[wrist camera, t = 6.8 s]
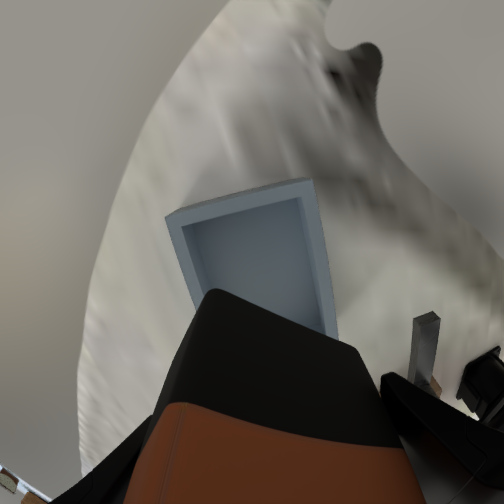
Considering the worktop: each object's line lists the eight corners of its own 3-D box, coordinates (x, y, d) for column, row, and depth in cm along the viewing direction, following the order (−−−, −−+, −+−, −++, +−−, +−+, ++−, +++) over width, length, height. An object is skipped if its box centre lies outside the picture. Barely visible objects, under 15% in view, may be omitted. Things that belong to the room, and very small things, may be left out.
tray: (302, 177, 18) (312, 179, 15) (329, 326, 21) (339, 348, 18) (177, 209, 18) (164, 217, 15) (224, 349, 22) (221, 373, 19)
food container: (3, 469, 50) (-5, 482, 41) (0, 465, 49) (-7, 479, 39) (23, 484, 52) (16, 498, 43) (21, 481, 50) (14, 495, 41)
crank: (416, 429, 22) (436, 469, 16) (388, 441, 22) (404, 483, 16) (441, 307, 17) (488, 351, 11) (402, 322, 17) (445, 375, 11)
